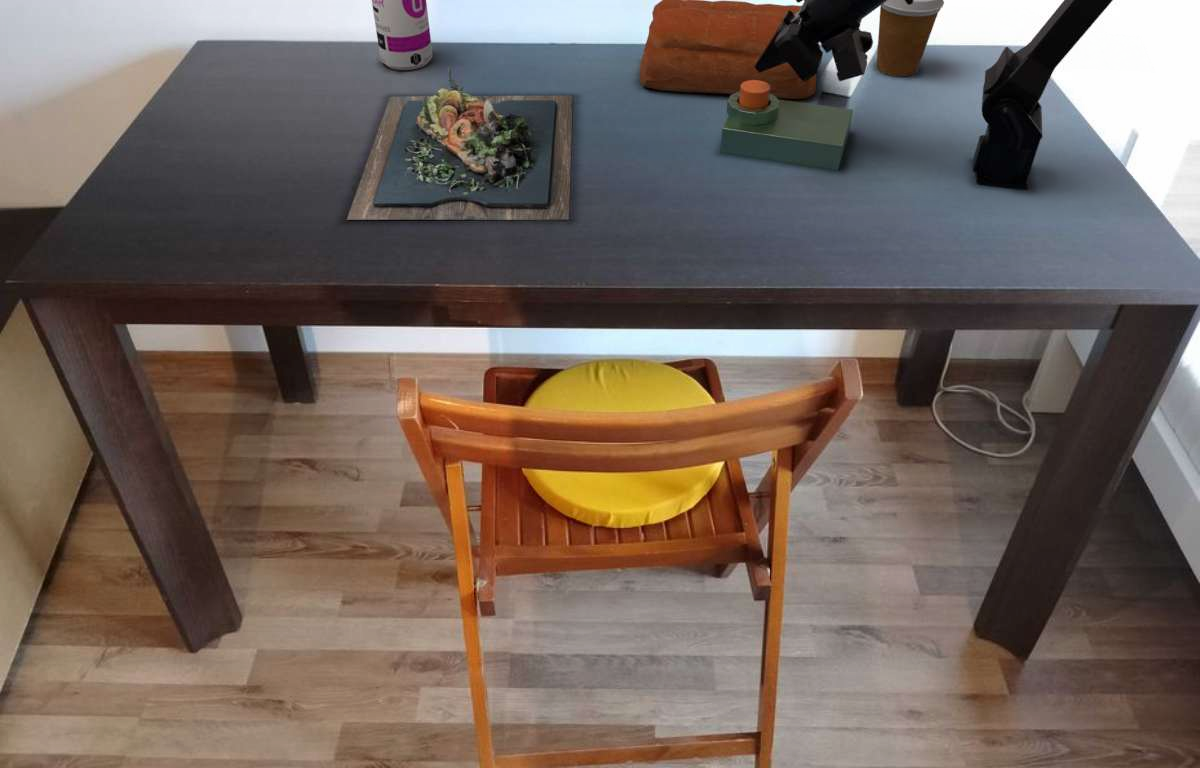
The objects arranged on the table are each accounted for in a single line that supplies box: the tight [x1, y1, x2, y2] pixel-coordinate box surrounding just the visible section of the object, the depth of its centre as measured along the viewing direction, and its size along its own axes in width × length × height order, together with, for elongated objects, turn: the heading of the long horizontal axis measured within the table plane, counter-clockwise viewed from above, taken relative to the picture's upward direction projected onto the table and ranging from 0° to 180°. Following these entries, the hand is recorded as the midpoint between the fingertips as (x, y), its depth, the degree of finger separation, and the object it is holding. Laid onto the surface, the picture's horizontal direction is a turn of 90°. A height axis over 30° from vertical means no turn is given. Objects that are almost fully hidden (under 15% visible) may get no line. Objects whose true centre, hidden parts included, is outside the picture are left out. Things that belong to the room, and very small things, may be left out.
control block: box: [719, 91, 854, 172], centre depth 134 cm, size 16×11×6 cm
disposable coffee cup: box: [876, 0, 945, 77], centre depth 150 cm, size 10×10×12 cm
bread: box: [638, 0, 817, 100], centre depth 148 cm, size 16×27×11 cm, turn 81°
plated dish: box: [346, 66, 574, 221], centre depth 132 cm, size 35×28×7 cm
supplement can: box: [371, 0, 433, 71], centre depth 151 cm, size 8×8×15 cm
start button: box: [739, 80, 770, 109], centre depth 133 cm, size 4×4×3 cm
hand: (757, 69), depth 130 cm, fingers closed
